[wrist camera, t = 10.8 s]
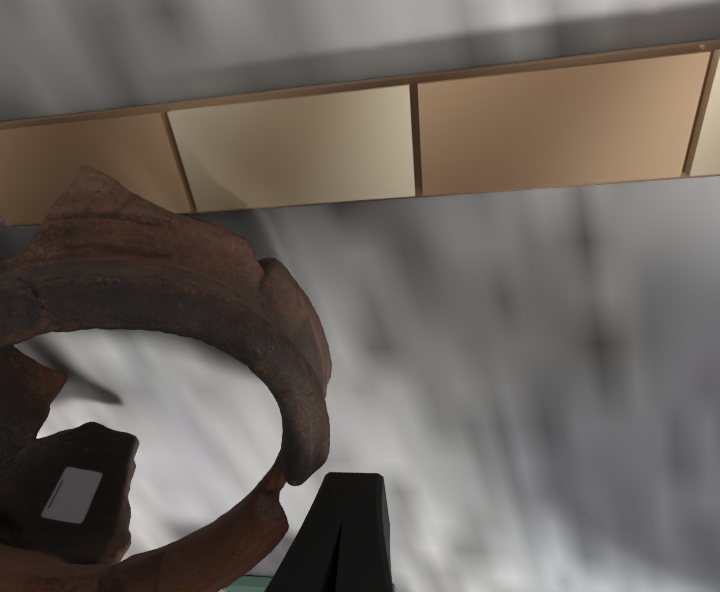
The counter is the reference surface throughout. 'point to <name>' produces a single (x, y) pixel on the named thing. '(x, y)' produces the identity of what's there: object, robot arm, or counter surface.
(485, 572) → the counter surface
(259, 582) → the felt mat
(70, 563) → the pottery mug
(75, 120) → the counting strip
